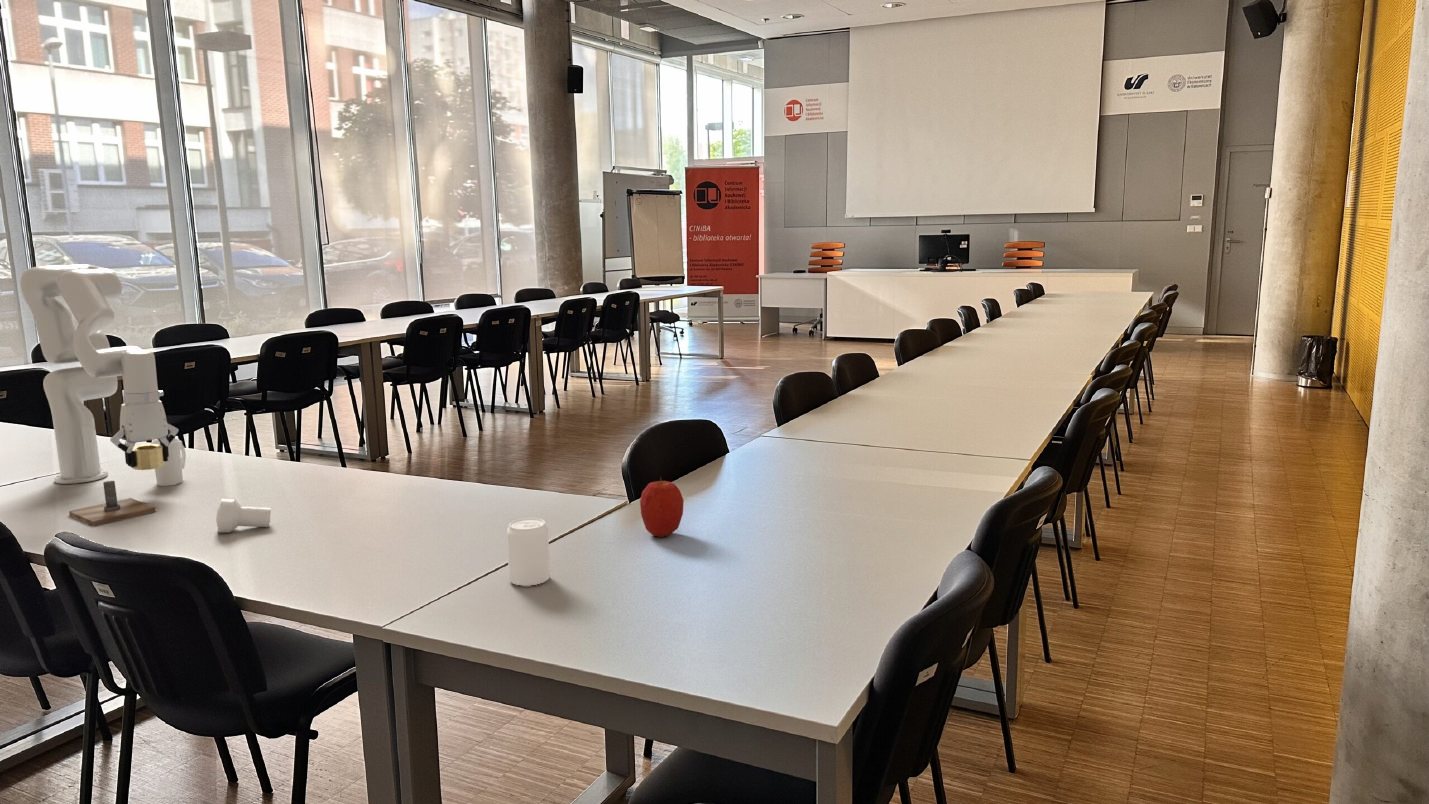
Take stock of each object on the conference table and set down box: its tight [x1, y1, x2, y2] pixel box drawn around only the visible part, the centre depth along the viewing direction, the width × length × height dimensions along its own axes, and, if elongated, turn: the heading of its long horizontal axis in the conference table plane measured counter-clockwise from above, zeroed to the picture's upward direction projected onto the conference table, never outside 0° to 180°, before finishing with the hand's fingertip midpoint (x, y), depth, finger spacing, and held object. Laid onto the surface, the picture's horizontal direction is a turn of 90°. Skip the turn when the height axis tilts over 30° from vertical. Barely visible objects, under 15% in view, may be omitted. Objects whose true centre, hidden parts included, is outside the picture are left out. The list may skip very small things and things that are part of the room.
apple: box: [639, 476, 685, 538], centre depth 212 cm, size 10×10×14 cm
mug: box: [150, 438, 187, 487], centre depth 259 cm, size 10×7×12 cm, turn 169°
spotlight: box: [215, 497, 272, 534], centre depth 218 cm, size 8×11×8 cm
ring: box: [132, 443, 164, 471], centre depth 244 cm, size 7×7×5 cm
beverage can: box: [506, 517, 551, 587], centre depth 185 cm, size 8×8×12 cm
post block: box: [68, 480, 157, 527], centre depth 230 cm, size 14×14×8 cm
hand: (147, 462), depth 245 cm, fingers closed on ring, 7 cm apart
